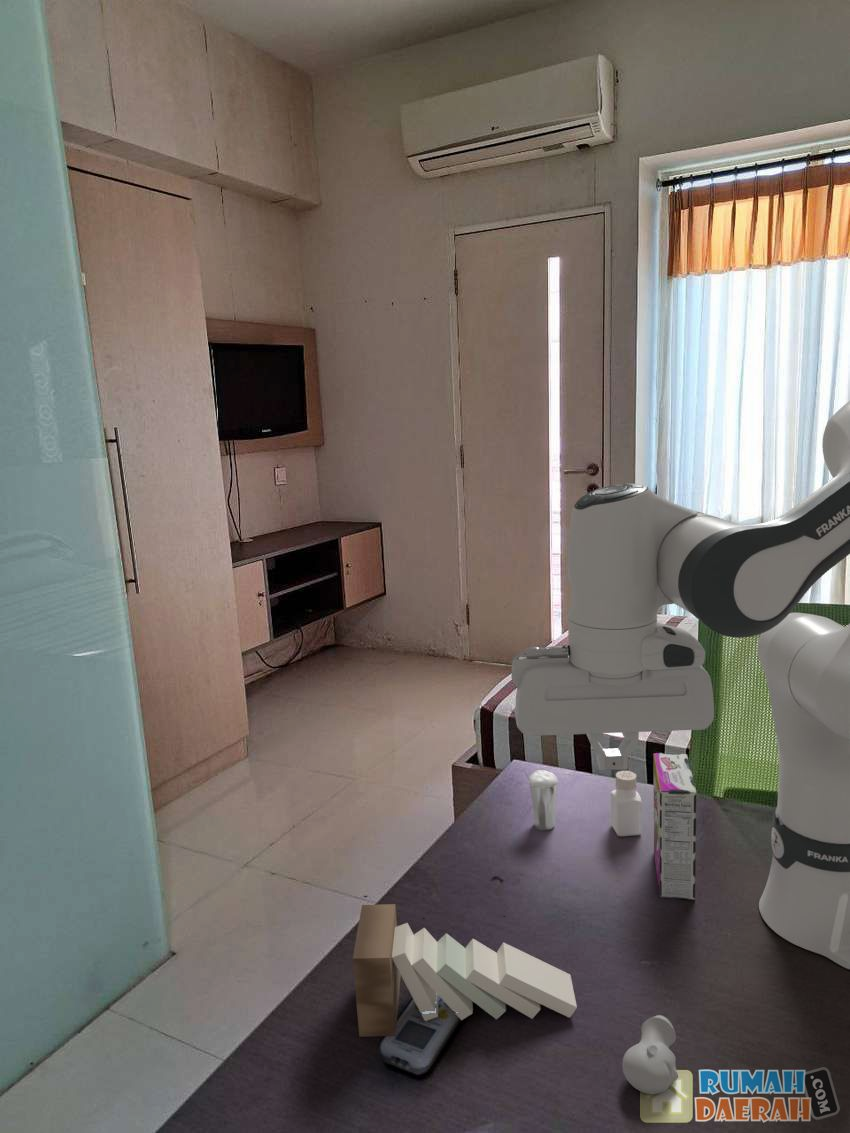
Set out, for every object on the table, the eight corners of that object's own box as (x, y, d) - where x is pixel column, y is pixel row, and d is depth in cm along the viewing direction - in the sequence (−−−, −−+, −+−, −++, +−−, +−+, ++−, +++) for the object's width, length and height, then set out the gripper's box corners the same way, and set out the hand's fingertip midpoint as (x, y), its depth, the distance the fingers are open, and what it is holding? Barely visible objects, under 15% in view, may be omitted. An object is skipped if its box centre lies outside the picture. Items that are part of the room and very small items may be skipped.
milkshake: (521, 822, 127) (519, 766, 125) (550, 815, 128) (549, 759, 126) (532, 836, 123) (531, 778, 121) (563, 829, 124) (562, 772, 122)
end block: (400, 976, 95) (395, 904, 93) (395, 1035, 86) (389, 957, 84) (368, 977, 95) (362, 905, 93) (359, 1036, 86) (352, 958, 84)
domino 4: (535, 976, 92) (472, 938, 91) (540, 1009, 87) (473, 969, 86) (528, 985, 92) (465, 948, 91) (532, 1019, 87) (465, 979, 87)
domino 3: (503, 978, 92) (446, 933, 91) (506, 1010, 87) (445, 963, 86) (494, 986, 92) (437, 941, 91) (496, 1019, 88) (436, 972, 86)
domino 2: (471, 980, 92) (424, 927, 91) (472, 1013, 87) (422, 957, 86) (461, 987, 93) (413, 934, 91) (461, 1020, 88) (411, 965, 86)
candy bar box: (651, 852, 117) (652, 751, 113) (686, 854, 116) (688, 752, 112) (657, 899, 106) (659, 789, 103) (696, 902, 105) (698, 791, 102)
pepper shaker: (609, 824, 125) (609, 770, 123) (634, 822, 125) (634, 768, 123) (617, 838, 121) (617, 782, 119) (642, 836, 121) (643, 780, 119)
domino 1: (438, 983, 93) (407, 922, 91) (438, 1016, 88) (404, 952, 86) (426, 988, 93) (395, 927, 91) (425, 1021, 88) (391, 957, 86)
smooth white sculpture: (657, 1118, 76) (610, 1081, 79) (686, 1060, 82) (641, 1027, 85) (671, 1091, 74) (622, 1054, 77) (699, 1033, 80) (653, 1001, 83)
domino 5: (570, 974, 92) (503, 942, 91) (576, 1007, 87) (506, 973, 86) (563, 984, 92) (496, 952, 91) (569, 1017, 87) (499, 984, 87)
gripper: (512, 658, 77) (516, 785, 80) (721, 649, 76) (717, 778, 79) (508, 638, 84) (512, 757, 87) (701, 630, 83) (698, 750, 86)
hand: (612, 767), depth 83 cm, fingers closed
